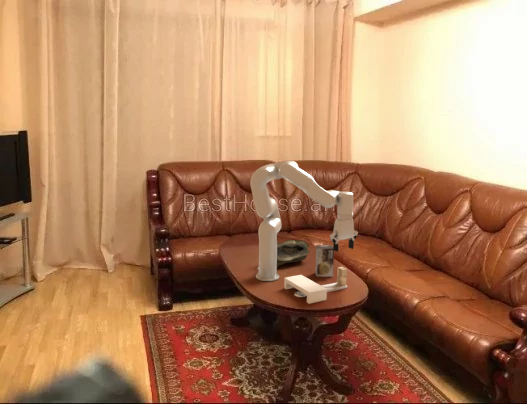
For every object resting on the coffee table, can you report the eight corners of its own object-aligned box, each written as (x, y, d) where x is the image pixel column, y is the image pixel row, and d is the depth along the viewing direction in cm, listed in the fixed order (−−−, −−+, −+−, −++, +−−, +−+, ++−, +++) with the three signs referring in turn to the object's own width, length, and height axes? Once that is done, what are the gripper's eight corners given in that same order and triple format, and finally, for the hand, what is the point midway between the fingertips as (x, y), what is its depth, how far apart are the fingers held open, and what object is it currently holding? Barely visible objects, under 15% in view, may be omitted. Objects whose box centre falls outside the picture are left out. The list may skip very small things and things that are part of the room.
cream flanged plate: (284, 288, 243) (284, 277, 241) (300, 284, 247) (301, 274, 246) (309, 303, 224) (309, 292, 223) (326, 299, 229) (326, 289, 228)
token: (291, 294, 236) (291, 292, 235) (302, 292, 238) (302, 290, 238) (298, 298, 230) (298, 297, 230) (309, 296, 233) (309, 294, 233)
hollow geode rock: (306, 267, 290) (298, 245, 297) (316, 257, 280) (307, 235, 287) (265, 272, 276) (258, 249, 284) (274, 262, 267) (266, 238, 274)
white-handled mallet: (311, 290, 241) (312, 271, 239) (340, 284, 250) (341, 266, 248) (318, 294, 236) (319, 274, 234) (347, 288, 244) (348, 269, 243)
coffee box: (331, 272, 266) (332, 244, 263) (333, 276, 260) (334, 248, 257) (314, 272, 266) (316, 244, 263) (316, 276, 260) (317, 248, 257)
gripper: (353, 213, 247) (351, 245, 250) (326, 216, 238) (325, 249, 242) (363, 216, 240) (361, 249, 244) (335, 219, 232) (334, 253, 235)
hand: (343, 249), depth 243 cm, fingers open, 9 cm apart
